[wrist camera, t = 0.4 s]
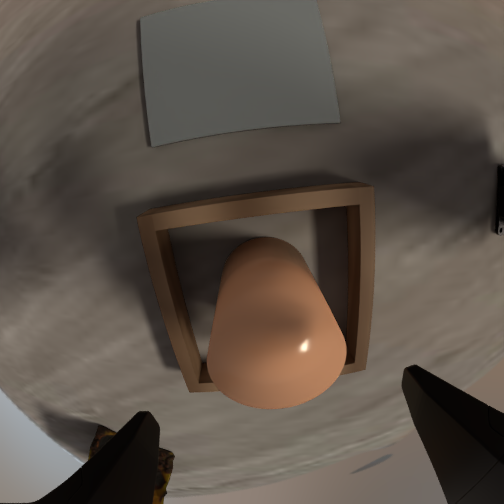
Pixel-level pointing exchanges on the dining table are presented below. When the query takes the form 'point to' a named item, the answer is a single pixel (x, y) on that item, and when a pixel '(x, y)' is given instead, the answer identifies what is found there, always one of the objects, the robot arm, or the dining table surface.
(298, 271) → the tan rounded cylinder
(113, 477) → the robot arm
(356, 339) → the wooden picture frame
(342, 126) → the dining table surface
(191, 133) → the pad
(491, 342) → the dining table surface
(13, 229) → the dining table surface
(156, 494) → the candle
